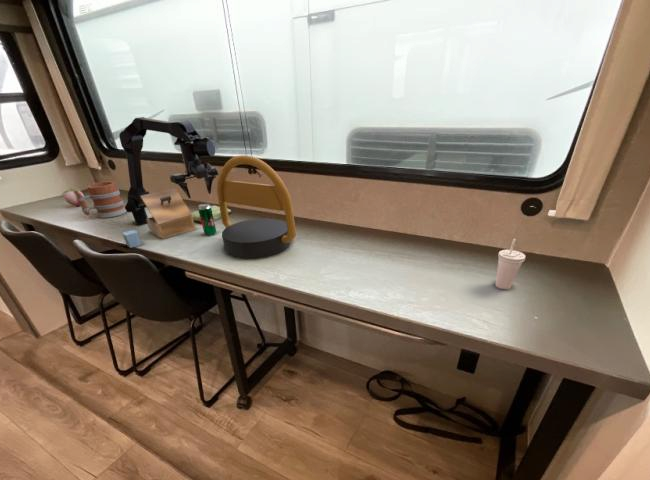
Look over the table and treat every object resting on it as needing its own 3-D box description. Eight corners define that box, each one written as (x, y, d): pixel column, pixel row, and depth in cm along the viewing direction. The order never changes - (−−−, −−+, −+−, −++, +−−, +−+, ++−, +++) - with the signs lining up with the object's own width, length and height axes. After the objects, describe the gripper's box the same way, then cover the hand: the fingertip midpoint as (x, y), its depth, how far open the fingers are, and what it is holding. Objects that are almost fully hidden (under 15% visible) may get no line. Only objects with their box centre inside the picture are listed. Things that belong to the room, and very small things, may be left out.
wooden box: (150, 231, 144) (145, 218, 141) (182, 222, 152) (178, 210, 149) (162, 239, 136) (158, 225, 132) (195, 229, 144) (192, 216, 141)
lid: (140, 196, 134) (140, 189, 131) (175, 189, 142) (175, 182, 139) (157, 225, 133) (158, 219, 129) (192, 215, 141) (193, 209, 137)
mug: (132, 212, 170) (121, 182, 162) (91, 223, 158) (77, 191, 150) (121, 208, 178) (110, 179, 170) (81, 218, 166) (68, 187, 158)
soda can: (213, 236, 136) (206, 207, 129) (202, 235, 137) (194, 206, 130) (218, 231, 140) (212, 203, 134) (208, 231, 141) (201, 203, 135)
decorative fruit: (85, 202, 191) (78, 185, 185) (89, 205, 185) (81, 187, 180) (67, 206, 186) (58, 188, 180) (69, 209, 180) (61, 190, 175)
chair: (246, 227, 142) (232, 148, 125) (314, 241, 126) (308, 151, 109) (201, 248, 125) (178, 159, 108) (274, 267, 109) (260, 166, 92)
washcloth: (233, 212, 161) (231, 206, 159) (205, 224, 149) (203, 217, 147) (214, 209, 167) (212, 203, 165) (186, 220, 155) (184, 213, 153)
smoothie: (486, 281, 95) (497, 235, 87) (507, 279, 95) (521, 233, 88) (498, 292, 90) (511, 244, 82) (520, 290, 90) (536, 242, 82)
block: (126, 245, 132) (122, 232, 129) (138, 241, 134) (133, 229, 132) (130, 248, 129) (125, 235, 126) (142, 244, 132) (137, 232, 129)
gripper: (176, 162, 122) (187, 204, 130) (221, 154, 132) (228, 194, 141) (164, 159, 129) (175, 199, 137) (207, 152, 139) (215, 190, 148)
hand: (199, 196), depth 140 cm, fingers open, 9 cm apart
